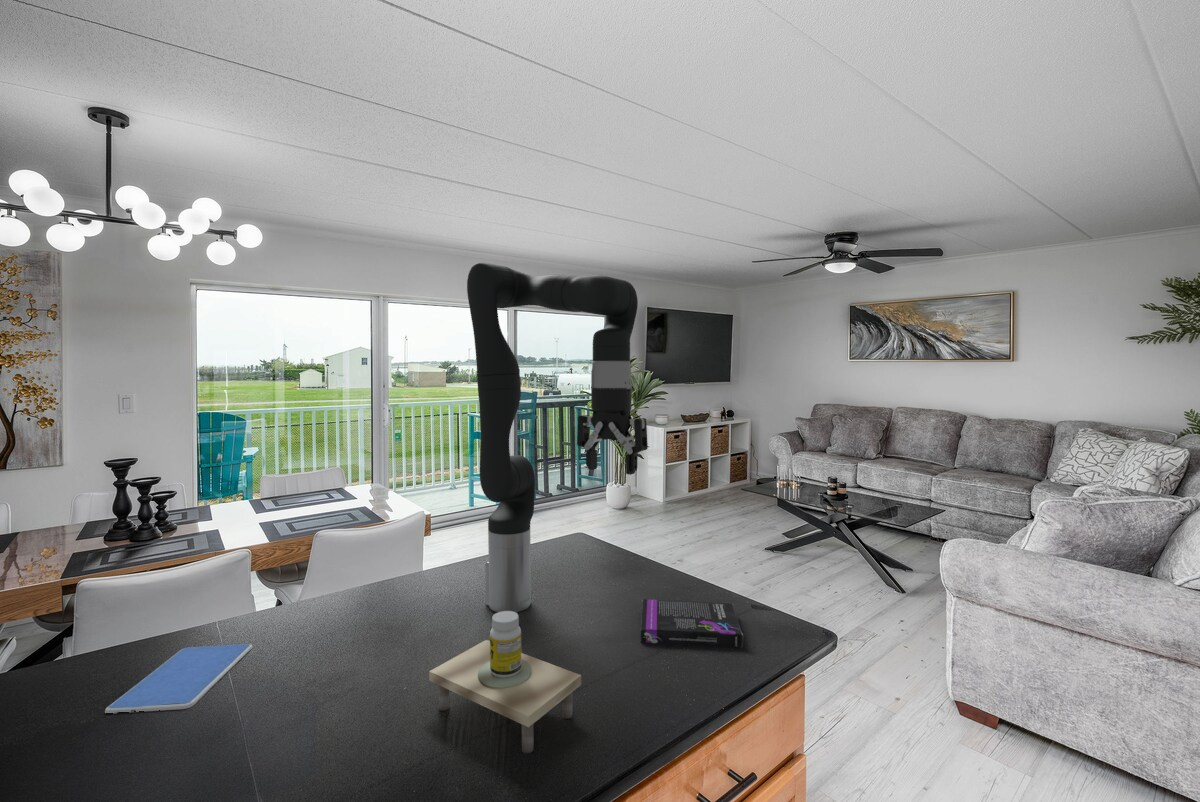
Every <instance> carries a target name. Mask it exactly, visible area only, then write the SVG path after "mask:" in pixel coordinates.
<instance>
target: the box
mask: <svg viewBox="0 0 1200 802" xmlns="http://www.w3.org/2000/svg"><path fill="white" fill-rule="evenodd" d="M640 619H641V621H640V629H639V630H640V631H639V640H640V643H645V644H663V645H664V644H667V645H682V644H685V646H702V645H704V646H707V647H724V648H725V647H726V648H743V647H744V633H743V632H742V628H741V625H740V622H739V619H738V617H737V613H736V610H735V606H734V603H727V602H726V603H725V602H712V601H710V602H708V601H693V600H692V601H689V600H688V601H687V600H670V599H669V600H668V599H667V600H666V599H647V598H646V599H645V598H644V599H642V600H641V617H640ZM688 644H689V645H688ZM704 646H703V647H704Z"/></svg>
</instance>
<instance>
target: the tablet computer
mask: <svg viewBox="0 0 1200 802" xmlns="http://www.w3.org/2000/svg"><path fill="white" fill-rule="evenodd" d="M252 649H253V645H252V644H249V643H248V644H247V643H244V644H229V645H226V644H225V645H224V644H223V645H210V646H209V645H208V646H207V645H206V646H191V647H190V646H189V647H183V648H182V649H180V650H179V651H177V652H176V653H175V654H173V656H171V657H170V658H168V659H167V660H166V661H165V662H163V663H162V664H161V665H160V666H158V667H157V668H156V669H155V670H153V671H152V672H151V673H149V674H148V675H147V676H145V678H143V679H142V680H140V681H139V682H138V683H137V684H135V685H134V686H132V688H130V689H129V690H128V691H126V692H125V693H124V694H122V695H121V696H120V697H118V698H117V699H116V700H115V701H113V702H112V703H111V704H109V705H108V706H107V707H106V708H105V710H104V713H105V714H106V713H113V714H120V713H119V712H129V713H140V712H139V711H144V712H158V711H159V710H160V711H173V710H174V711H175V710H186V709H189V708H192V707H194V705H195V704H197V703H198V702H199V701H200V700H201V699H202V698H203V697H204V696H205V694H207V692H209V691H210V690H211V688H212V687H213V686H215V685H216V684H217V683H218V682H219V681H220V680H221V679H222V678H223V677H224V676H225V675H226V674H227V673H228V672H229V671H230V670H231V669H232V668H233V667H234V666H235V665H236V664H237V663H239V661H240V660H241V659H242V658H244V657H245V656H246V655H247V654H248V653H249V652H250V651H251V650H252ZM134 711H136V712H134ZM160 711H159V712H160Z"/></svg>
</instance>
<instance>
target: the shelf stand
mask: <svg viewBox="0 0 1200 802" xmlns="http://www.w3.org/2000/svg"><path fill="white" fill-rule="evenodd" d="M521 662H522V667H521V670H520V672H519V673H518V674H516V675H514V676H511V677H506V678H500V677H496V676H494V675H493V674H492V673H491V670H490V640H489V639H485V640H483V641H481V642H479V643H478V644H476V645H474V646H473V647H471V648H468V649H467V650H465V651H464V652H462V653H460V654H458V655H456V656H454V657H452V658H450V659H449V660H447V661H446V662H443V663H442V664H440V665H438V666H437V667H434V668H433V669H431V670H429V672H428V675H429V678H428V679H429V682H432V683H433V684H436V685H437V687H438V710H439V711H442V712H443V711H447V710H449V709H450V707H451V706H450V704H451V703H450V692H452V693H455V694H457V695H459V696H461V697H463V698H464V699H468V700H469V701H471V702H473V703H475V704H477V705H481V706H482V707H484V708H486V709H488V710H490V711H493V712H494V713H497V714H500V715H501V716H503V717H505V718H507V719H510V720H511V721H514V722H515V723H519V724H520V725H521V751H522V753H523V754H531V753H533V751H534V748H535V746H534V745H535V744H534V743H535V742H534V741H535V740H534V737H535V736H534V724H535V723H536V722H537V721H538V720H540V719H541V718H542V717H543V716H545V715H546V714H547V713H548V712H550V711H551V710H552V709H553V708H554V707H556V706H557V705H558V704H559V703H561V717H562V719H566V720H567V719H571V718H572V717H573V713H574V712H573V711H574V710H573V707H574V706H573V698H574V697H573V692H575V691H576V690H577V688H579V687H581V686H582V674H579V673H577V672H573V671H570V670H568V669H565V668H563V667H560V666H558V665H554V664H553V663H549V662H547V661H543V660H541V659H538V658H536V657H533V656H531V655H528V654H525V653H523V652H521Z"/></svg>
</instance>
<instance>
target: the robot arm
mask: <svg viewBox="0 0 1200 802" xmlns="http://www.w3.org/2000/svg"><path fill="white" fill-rule="evenodd" d="M466 291H467V292H466V294H467V300H468V305H469V310H470V316H471V317H470V318H471V324H472V330H473V336H474V337H473V338H474V348H475V349H474V350H475V360H476V380H477V382H476V383H477V395H478V404H479V406H478V407H479V424H480V426H479V427H480V450H479V451H480V453H479V483H480V487H481V491H482V492H483V495H484V496H485V497H486V499H488V500H489V501H491V502H493V503H498V506H497V507H496V509H495V510H494V511H493V512H492V513H491V515H489V518H488V521H487V522H488V523H487V524H488V525H487V533H488V534H487V535H488V536H487V537H488V539H487V540H488V544H487V545H488V561H486V562H485V566H484V569H485V575H484V576H485V605H486V606H488V607H489V609H490V610H491V611H493V612H494V613H498V612H502V611H512V612H515V613H519V612H522V611H524V610H527V609H528V608H529V607H530V606H531V601H532V599H531V598H532V595H531V594H532V591H531V588H532V581H531V580H532V578H531V574H532V572H531V571H532V569H531V568H532V566H531V565H532V564H531V521H532V519H533V515H534V513H535V512H534V511H535V495H536V477H535V471H534V468H533V465H532V463H531V462H530V460H529V459H528V458H526V457H525V456H523V455H519V454H515V455H511V452H510V436H511V429H512V426H513V423H514V420H515V417H516V415H517V413H518V409H519V406H520V403H521V402H520V401H521V397H522V390H521V389H522V388H521V374H520V373H521V372H520V367H519V366H520V365H519V363H518V359H516V356H515V353H514V352H513V351H512V349H511V347H510V345H509V343H508V342H507V340H506V338H505V336H504V334H503V332H502V331H503V330H502V329H501V326H500V322H499V321H500V320H499V312H498V309H507V308H508V309H509V308H515V307H524V306H536V307H537V306H538V307H542V308H546V309H550V310H556V311H562V312H572V313H581V312H582V313H587V314H593V315H599V316H605V322H604V326H603V328H602V329H599V330H597V331H595V333H594V334H593V337H592V367H591V373H590V375H591V376H590V378H591V379H590V380H591V381H590V382H591V388H590V389H591V390H590V391H591V392H590V393H591V395H590V396H591V398H590V400H591V401H590V403H591V405H590V408H591V410H592V415H591V416H590V414H583V415H579V416H578V418H577V433H576V434H577V436H576V437H577V438H576V444H577V446H578V447H582V448H583V449H585V464H586V467H587V470H591V471H593V470H597V469H598V449H597V447H598V446H599V444H600V443H601V442H602V441H603V440H610V441H617V442H619V444H620V445H621V446H622V447H623V448H624V449H625V452H626V453H627V454H625V474H626V475H630V476H631V475H634V474H636V472H637V470H638V458H639V457H638V456H639V455H638V454H639V453H640V452H643V451H647V450H648V448H649V447H648V430H647V429H648V427H647V419H646V418H645V417H638V418H632V415H631V410H632V384H633V383H632V382H633V380H632V369H631V336H632V332H633V329H634V326H635V321H636V316H637V313H638V305H639V304H638V303H639V302H638V301H639V300H638V294H637V291H636V289H635V287H634V285H632V284H631V282H629V281H626V280H624V279H620V278H616V277H611V276H607V275H595V274H593V275H583V276H581V275H573V274H571V275H570V274H547V275H540V276H539V275H538V276H537V275H532V274H527V273H525V272H521V271H518V270H516V269H513V268H511V267H508V266H505V265H500V264H494V263H489V262H477V263H474V264H473V266H471V268H470V269H469V272H468V275H467V280H466ZM591 426H593V430H592V431H591V433H590V429H591ZM630 428H632V429H633V430H634V436H633V434H632V433H631V431H630Z"/></svg>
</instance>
